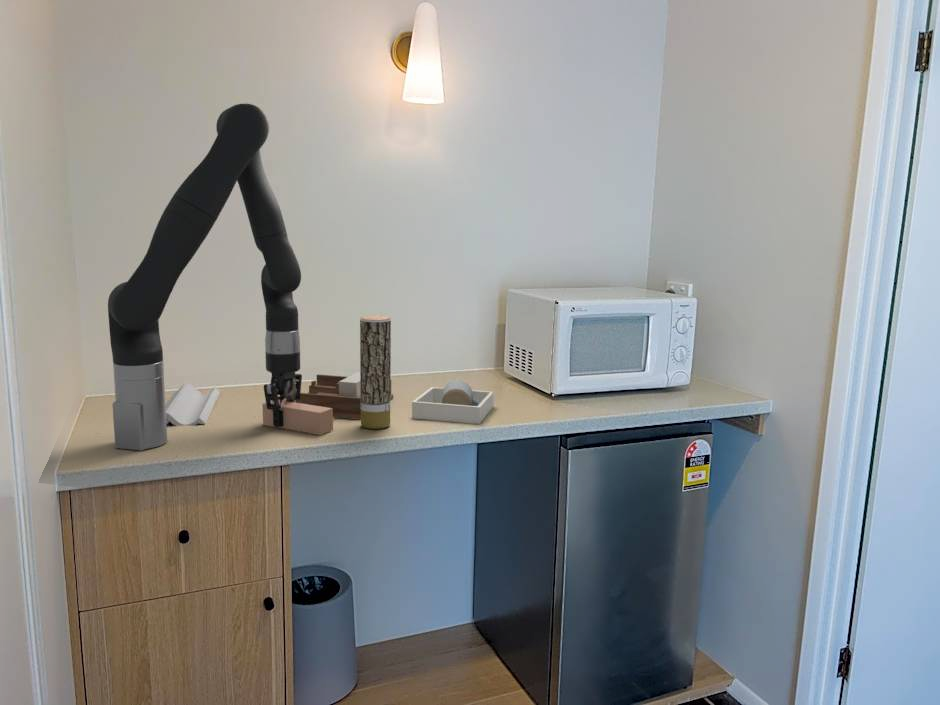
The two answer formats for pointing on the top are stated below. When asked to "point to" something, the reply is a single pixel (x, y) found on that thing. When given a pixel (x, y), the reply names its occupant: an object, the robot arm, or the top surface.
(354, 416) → the rack
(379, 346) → the bark log cylinder
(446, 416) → the frame
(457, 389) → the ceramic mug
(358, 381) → the grey bar
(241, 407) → the top surface
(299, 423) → the clay bar
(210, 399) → the crown molding
